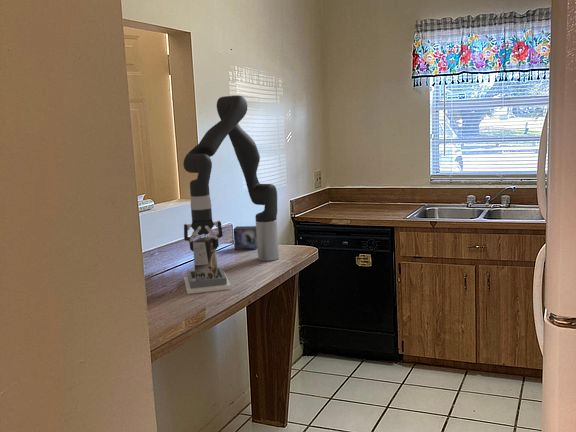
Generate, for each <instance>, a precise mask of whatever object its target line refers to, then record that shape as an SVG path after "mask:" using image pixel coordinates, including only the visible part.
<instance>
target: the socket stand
mask: <svg viewBox="0 0 576 432" xmlns="http://www.w3.org/2000/svg"><path fill="white" fill-rule="evenodd" d="M217 269H218V278H214V279H205V280H196V279H195V270H187V271H186V273H187V276H184V277H183V279H184V285H185V289H186V294H187V295H189V294H190V295H191V294H198V293H208V292H217V291H224V290H231V289H232V284H231V282H230V281H229V279H228V277H227V273H226V272H224V270H223V268H222V267H217Z"/></svg>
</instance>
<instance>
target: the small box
mask: <svg viewBox="0 0 576 432" xmlns="http://www.w3.org/2000/svg"><path fill="white" fill-rule="evenodd" d="M232 230H233V242H234V243H233V245H234V251H256V250H258V249H257V233H256V225H249V226H248V225H247V226H246V225H244V226H241V225H240V226H235V227H234V228H233V229H232Z"/></svg>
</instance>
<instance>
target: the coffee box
mask: <svg viewBox="0 0 576 432" xmlns="http://www.w3.org/2000/svg"><path fill="white" fill-rule="evenodd" d="M193 264H194V271H195V279H196V280H205V279H214V278H218V269H217V268H218V257H217V249H215V246H214V237H213V236H208V237H199V238H197V239H195V240H193Z"/></svg>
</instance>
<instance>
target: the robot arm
mask: <svg viewBox="0 0 576 432" xmlns="http://www.w3.org/2000/svg"><path fill="white" fill-rule="evenodd" d="M216 110H217V114H218V117H219V119H220V120H219V121H218V122H217V123H215V124H214V125H213V126H211V127H210V128H209V129H208V130H207V131H206V132H205V134H204V135H203V137H202V138H201V140H200V141H199V143H198V144H197V145H196V146H194V147H192V149H191V150H190V151H189V152H188V153H186V155H185V157H184V159H183V164H182V165H183V168H184V170H185V171H186V172H188V173H191V174H197V178H196V179H192V180H191V181H190V182H189V192H190V213H191V214H190V215H191V223H190V224H187V223H184V224H183V240H184V241H187V242H189V250H190V251H192V252H193V242H194V241H195V240H194V239H195V238H196V237H197V236H198V235H199V236H201V235H208V234H210V235H211V237H214V246H215V249H216V250H217V249H218V248H219V239H220V238H222V237H223V235H224V234H223V228H222V223H221V220H217V221H213V214H212V213H213V212H212V200H211V195H210V179H211V174H212V168H213V162H212V159H211V157H213V156H214V155H215V154H216V153H217V151H218V149H219V148H220V146H221V144H222V143H223V141H224V140H225V139H226V138H227V136H228V138H229V140H230V142H231V145H232V147H233V150H234V153H235V156H236V159H237V161H238V163H239V164H238V165H239V166H240V168H241V171H242V173H243V174H242V175H243V176H244V180H245V184H246V188H247V190H248V191H247V192H248V194H249V195H248V196H249V198H250V200H251V202H252V204H254V205H256V206H257V205H258V206H264V208H263V211H261V212H258V213H256V214H255V216H254V217H255V218H254V219H255V226H256V233H257V249H256V250H257V261H261V262H262V261H263V262H269V261H270V262H271V261H275V260H278V259H279V258H280V253H279V237H278V236H279V234H278V220H277V216H278V190H277V188H276V185H275V184H273V183H260V181H259V179H258V175H257V171H258V168H259V165H260V159H261V156H260V152H259V150H258V147H257V144H256V143H255V140H254V139H253V138H252V137H251V136H250V135H249V134H248V133H247V132H246V131H245V130H244V129H243V128H242V127H241V126H240V124H239V123H241V121H242V120H243V119H244V118H245V116H246V114H247V112H248V101H247V100H246V98H245V97H244V96H242V95H227V96H225V95H224V96H220V97H219V98H218V99H217V101H216ZM213 227H216V228H217V231H218V234H216V232H215V231H214V230H213ZM190 228H192V230H193V231H192V233H191V235H190V237H189V235H188V233H189V232H188V231H190Z"/></svg>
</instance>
